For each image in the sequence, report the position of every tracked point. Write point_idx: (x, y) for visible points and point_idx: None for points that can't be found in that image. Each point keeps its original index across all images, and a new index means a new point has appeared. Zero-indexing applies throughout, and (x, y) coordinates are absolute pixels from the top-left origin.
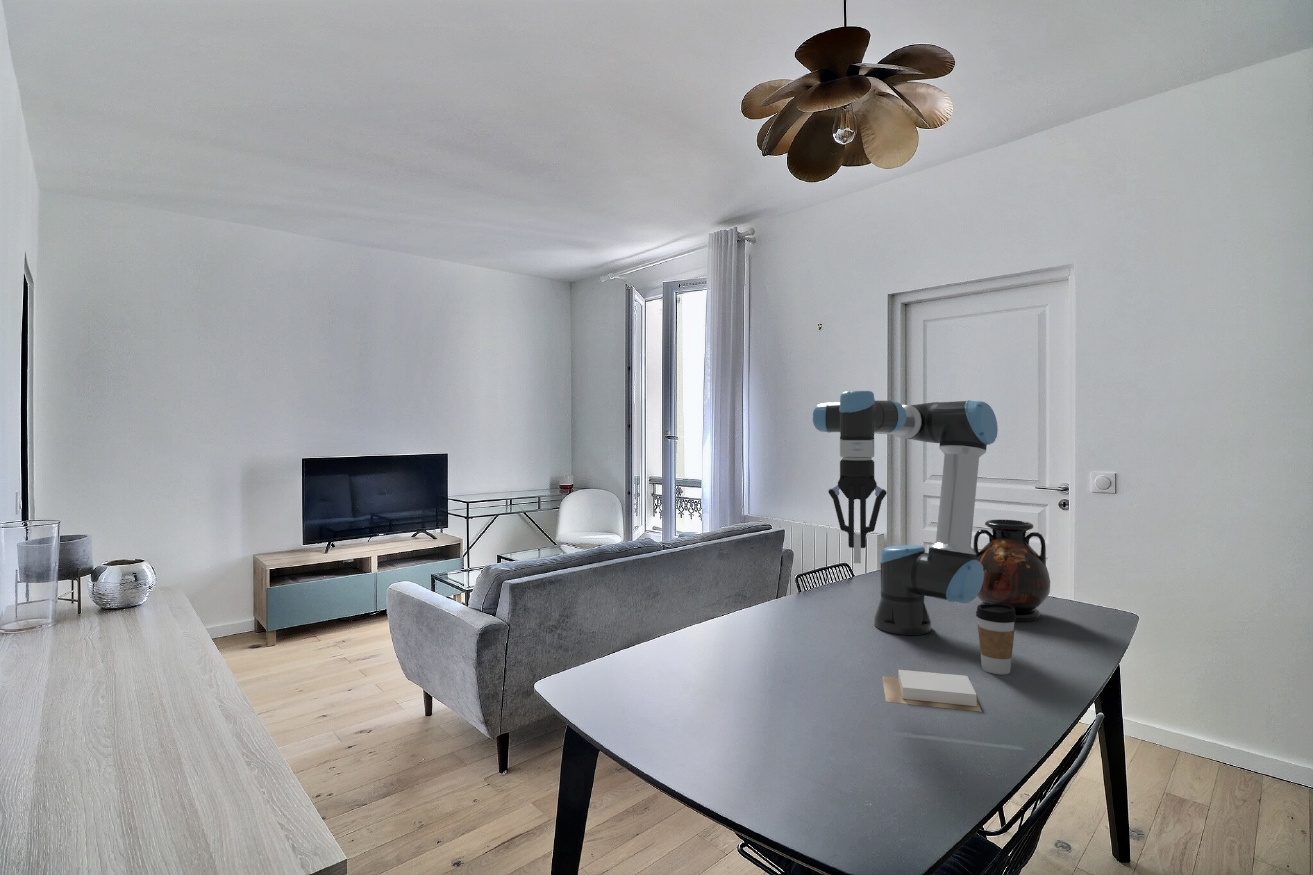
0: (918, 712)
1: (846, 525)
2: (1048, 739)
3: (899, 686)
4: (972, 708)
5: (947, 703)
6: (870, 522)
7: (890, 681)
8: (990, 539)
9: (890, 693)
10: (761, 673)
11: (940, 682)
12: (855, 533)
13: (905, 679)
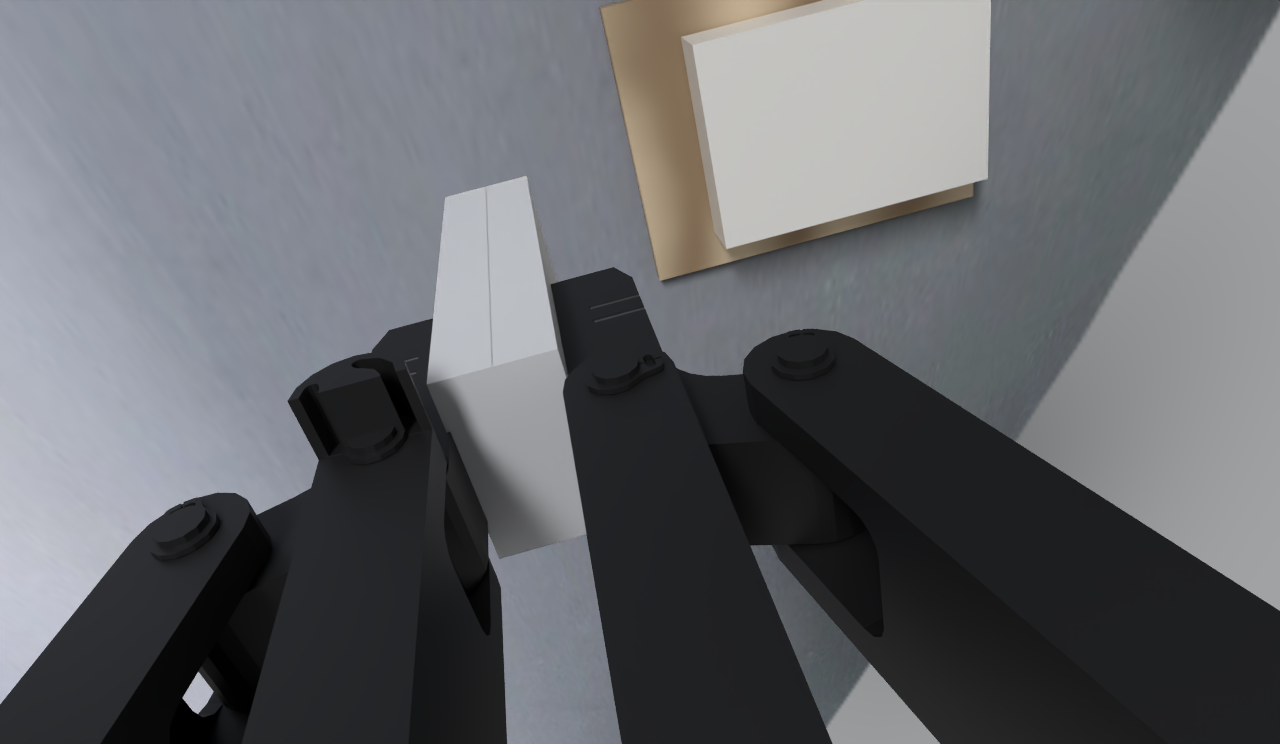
0: (767, 282)
1: (283, 581)
2: (1114, 272)
3: (691, 104)
4: None
5: None
6: (856, 647)
7: (647, 61)
8: None
9: (665, 198)
10: (72, 231)
11: (869, 118)
12: (494, 463)
13: (731, 159)
